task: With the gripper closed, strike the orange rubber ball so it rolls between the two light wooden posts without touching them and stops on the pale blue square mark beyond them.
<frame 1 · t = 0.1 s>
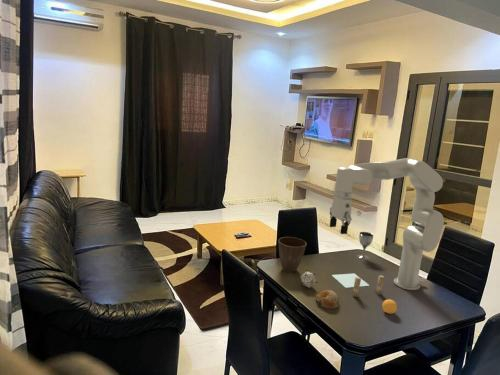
hand: (338, 230, 172), 31 cm above the table, tool pointing down, fingers open, 9 cm apart
post 1: (355, 295, 176), on the table
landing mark: (350, 280, 192), on the table
game die: (307, 287, 181), on the table
bread roll: (326, 304, 167), on the table
wine glass: (363, 257, 225), on the table
post 2: (378, 293, 180), on the table
ball: (389, 306, 163), on the table
plant pot: (289, 269, 200), on the table
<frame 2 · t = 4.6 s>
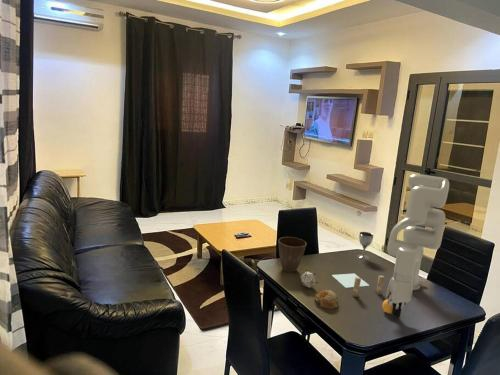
hand: (395, 315, 159), 1 cm above the table, tool pointing down, fingers closed
ball: (389, 306, 163), on the table, touching gripper
everything else where it was.
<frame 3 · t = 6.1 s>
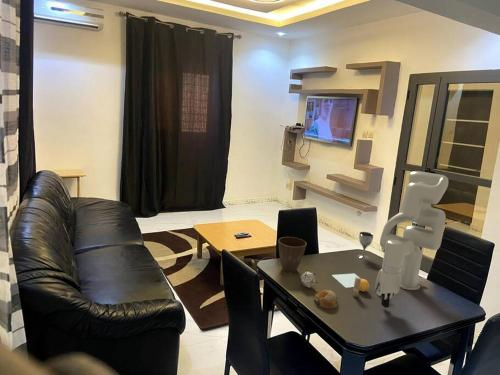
hand: (384, 306, 166), 2 cm above the table, tool pointing down, fingers closed
ball: (362, 285, 181), on the table
everything else where it was.
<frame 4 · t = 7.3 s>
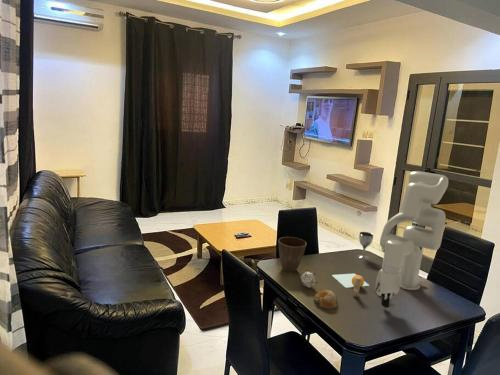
hand: (384, 306, 166), 2 cm above the table, tool pointing down, fingers closed
ball: (357, 281, 185), on the table
everything else where it was.
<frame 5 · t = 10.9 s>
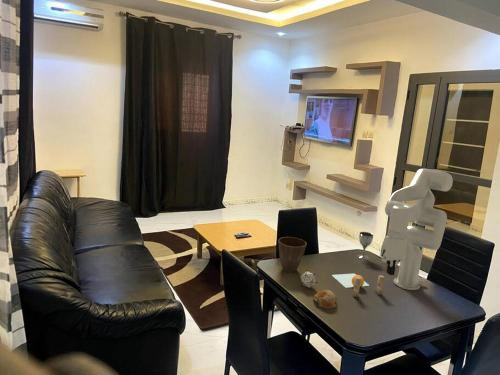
hand: (390, 273, 163), 17 cm above the table, tool pointing down, fingers closed
at the end: ball 6.7 cm from the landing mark (horizontally); ball never touched post 2; ball never touched post 1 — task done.
